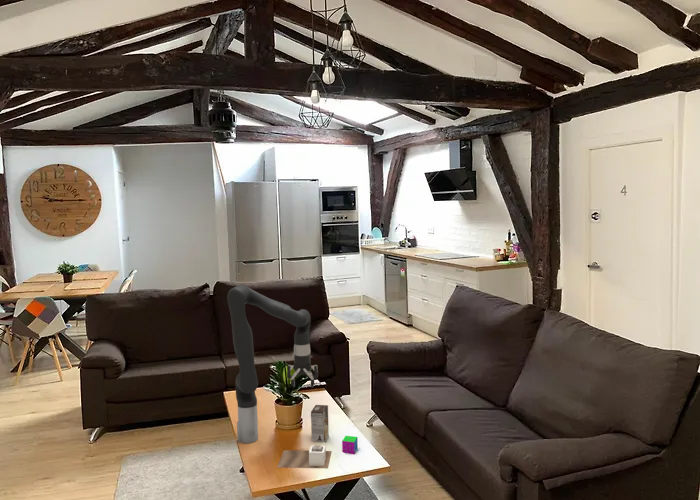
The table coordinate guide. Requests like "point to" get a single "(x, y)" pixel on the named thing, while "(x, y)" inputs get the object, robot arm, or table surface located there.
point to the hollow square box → (317, 457)
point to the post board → (301, 458)
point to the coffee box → (319, 423)
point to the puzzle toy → (349, 444)
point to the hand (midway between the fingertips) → (302, 386)
